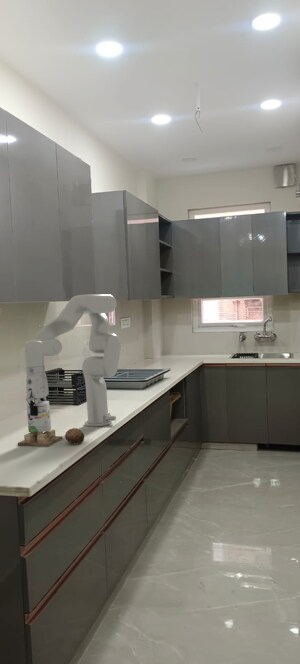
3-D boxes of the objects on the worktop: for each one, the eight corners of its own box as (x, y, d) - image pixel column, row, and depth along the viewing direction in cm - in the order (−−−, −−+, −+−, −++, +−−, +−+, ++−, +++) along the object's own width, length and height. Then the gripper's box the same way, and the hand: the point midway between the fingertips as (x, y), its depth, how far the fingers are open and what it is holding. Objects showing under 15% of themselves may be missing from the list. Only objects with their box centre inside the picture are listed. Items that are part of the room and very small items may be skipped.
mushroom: (61, 434, 207) (67, 422, 205) (79, 438, 210) (85, 427, 208) (62, 447, 201) (68, 436, 198) (80, 452, 204) (87, 440, 201)
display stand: (33, 437, 217) (33, 428, 217) (62, 438, 213) (61, 429, 213) (17, 445, 206) (16, 435, 206) (47, 446, 201) (47, 436, 201)
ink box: (28, 432, 207) (25, 404, 206) (31, 429, 212) (28, 401, 211) (48, 431, 207) (46, 402, 206) (51, 428, 212) (49, 400, 211)
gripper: (31, 373, 199) (35, 418, 200) (54, 367, 215) (57, 409, 216) (15, 373, 201) (19, 418, 202) (38, 367, 217) (41, 409, 218)
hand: (38, 413), depth 209 cm, fingers closed on ink box, 6 cm apart
